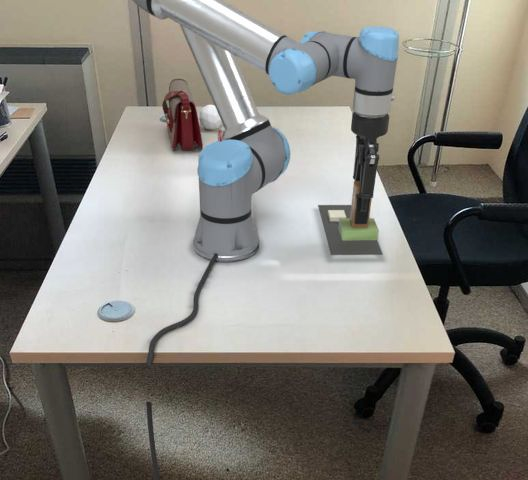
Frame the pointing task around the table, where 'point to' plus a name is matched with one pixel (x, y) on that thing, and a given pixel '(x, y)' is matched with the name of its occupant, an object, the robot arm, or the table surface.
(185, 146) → the handbag
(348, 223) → the scrub brush
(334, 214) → the eraser
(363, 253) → the slate
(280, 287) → the table surface
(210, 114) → the white rounded ball
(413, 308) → the table surface
